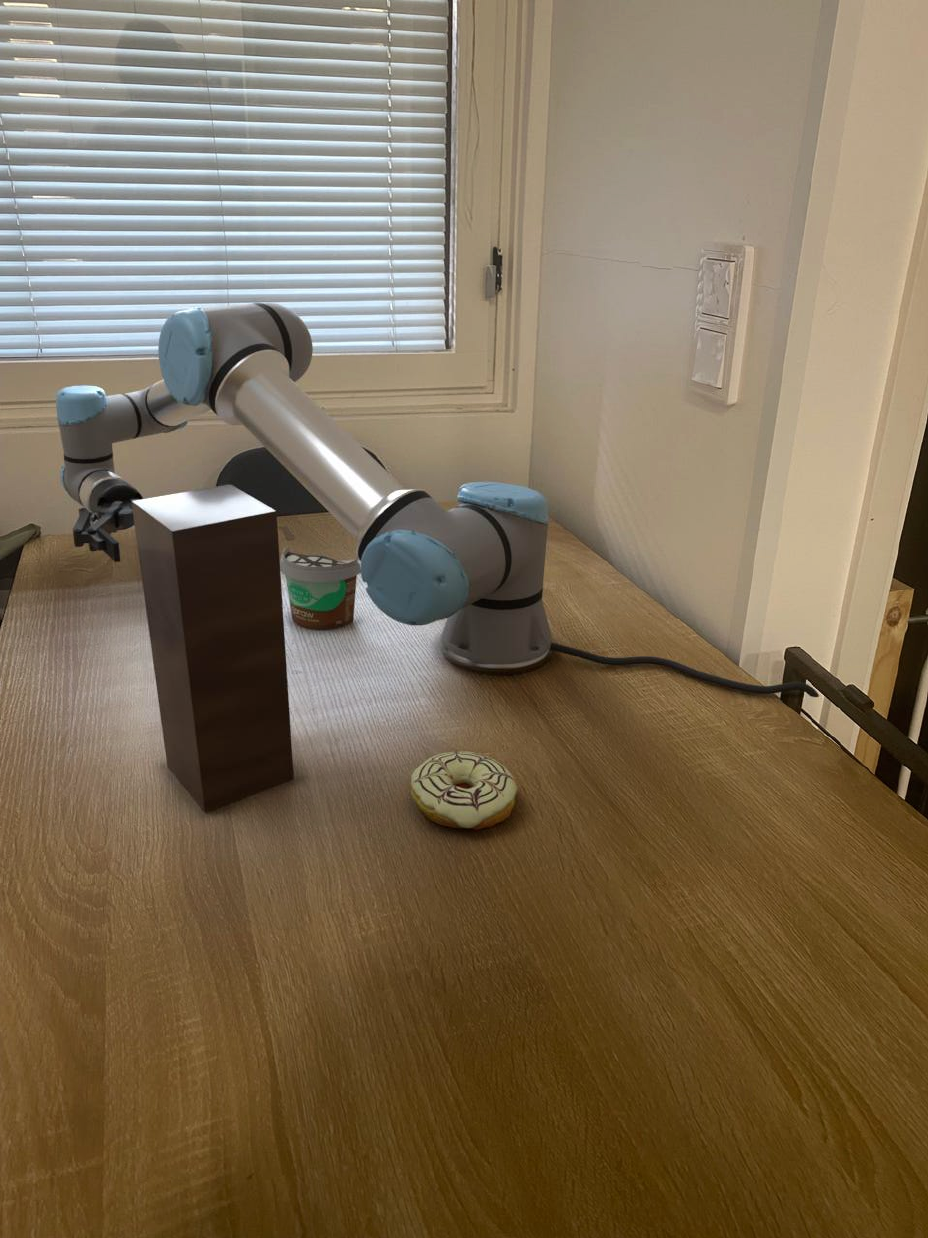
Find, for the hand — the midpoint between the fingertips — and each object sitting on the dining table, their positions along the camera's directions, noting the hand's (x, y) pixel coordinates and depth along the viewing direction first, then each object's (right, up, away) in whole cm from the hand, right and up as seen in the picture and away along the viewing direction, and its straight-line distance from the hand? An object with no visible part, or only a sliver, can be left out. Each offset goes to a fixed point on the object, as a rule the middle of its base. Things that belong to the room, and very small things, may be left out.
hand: (165, 544), depth 129 cm
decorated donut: (+42, -30, -36) cm, 63 cm away
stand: (+17, -27, -32) cm, 45 cm away
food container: (+21, -11, +2) cm, 24 cm away
